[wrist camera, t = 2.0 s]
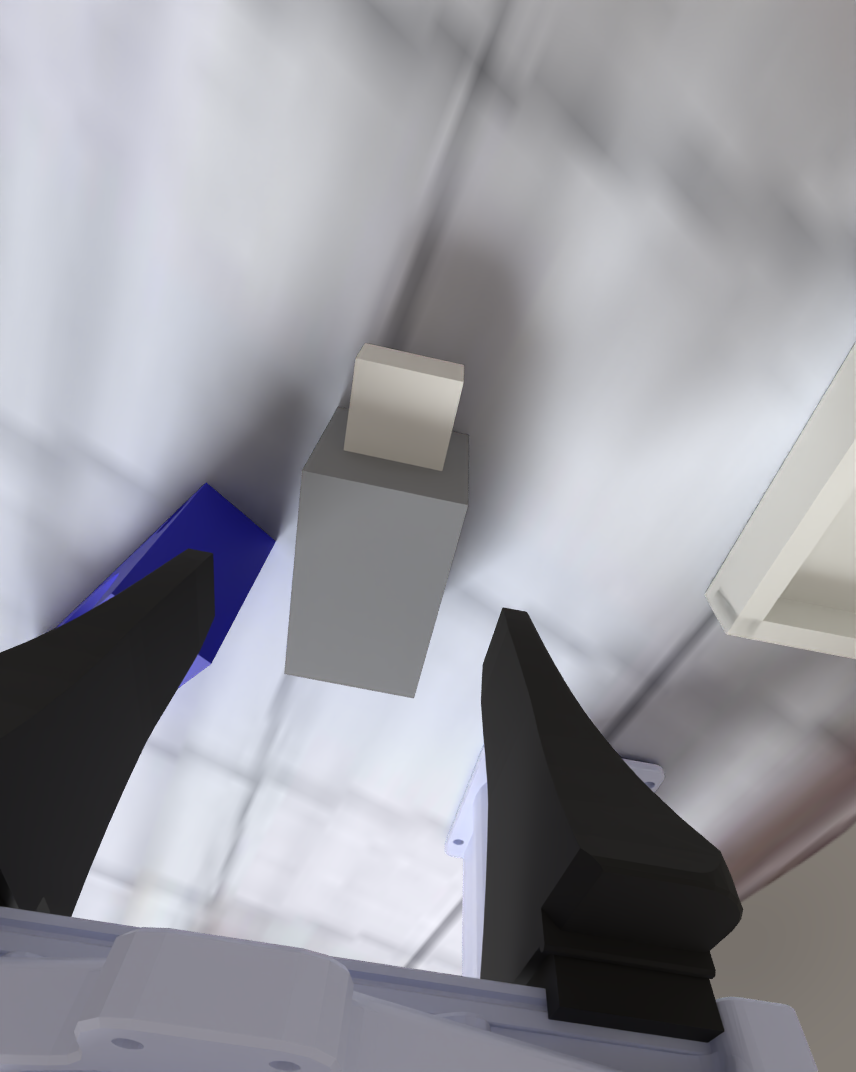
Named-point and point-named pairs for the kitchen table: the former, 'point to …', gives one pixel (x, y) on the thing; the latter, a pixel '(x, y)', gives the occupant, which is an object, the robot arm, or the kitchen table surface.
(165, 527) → the blue u-shaped cradle block
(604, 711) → the kitchen table surface
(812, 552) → the tray
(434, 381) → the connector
